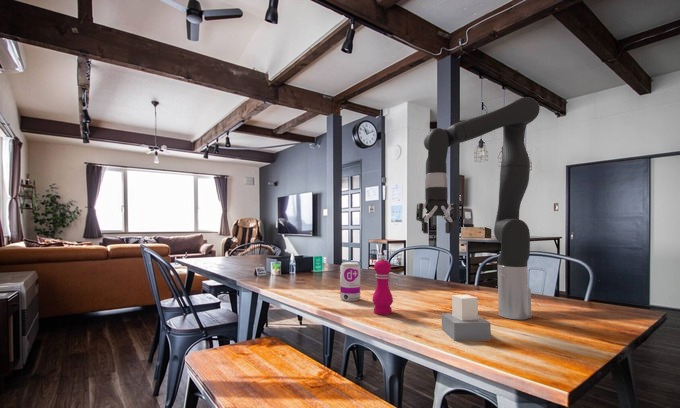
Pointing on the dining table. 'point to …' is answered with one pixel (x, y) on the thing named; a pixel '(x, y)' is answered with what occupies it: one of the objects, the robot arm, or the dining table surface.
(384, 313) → the pepper mill
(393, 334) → the dining table surface
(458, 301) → the cream block
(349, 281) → the supplement can
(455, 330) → the slate base
